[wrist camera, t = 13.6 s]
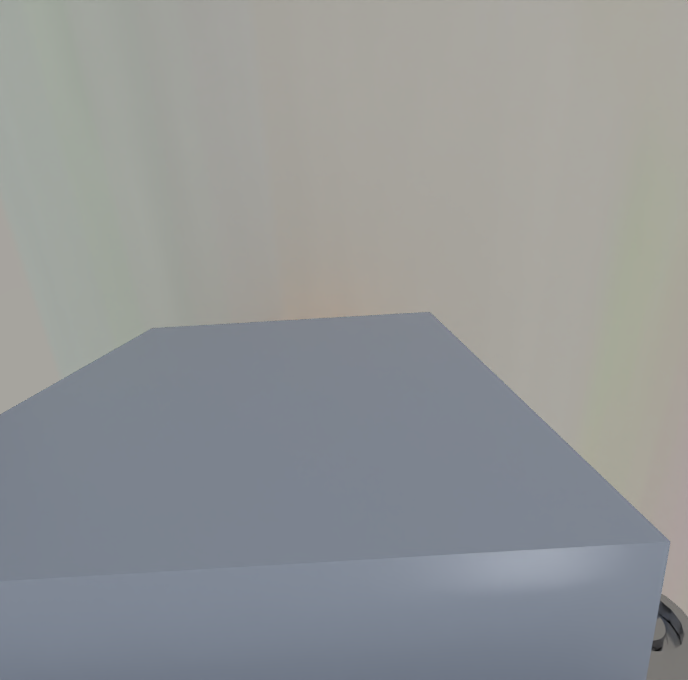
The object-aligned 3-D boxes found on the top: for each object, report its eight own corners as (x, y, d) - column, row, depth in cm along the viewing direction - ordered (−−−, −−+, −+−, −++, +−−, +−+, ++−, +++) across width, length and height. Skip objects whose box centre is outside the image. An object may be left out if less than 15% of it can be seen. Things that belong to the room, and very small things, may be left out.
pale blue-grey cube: (151, 328, 12) (-328, 601, 3) (430, 311, 12) (670, 540, 3) (193, 558, 14) (-35, 1092, 5) (430, 544, 14) (579, 1055, 5)
